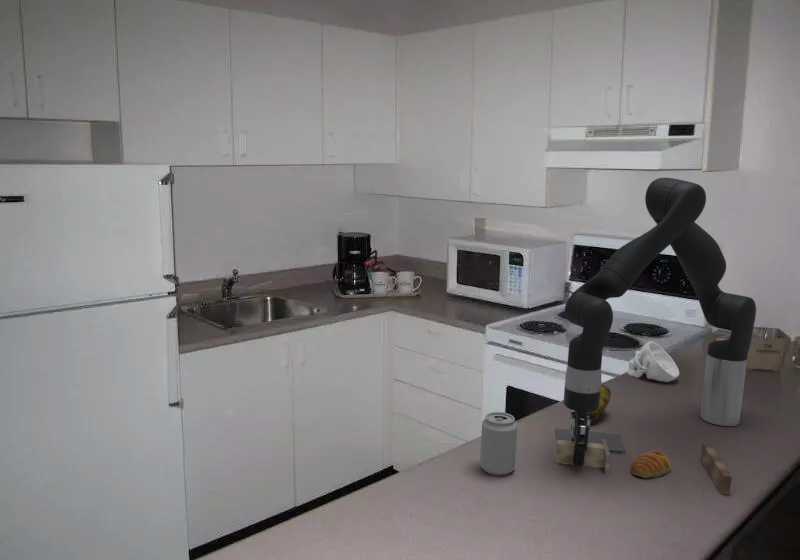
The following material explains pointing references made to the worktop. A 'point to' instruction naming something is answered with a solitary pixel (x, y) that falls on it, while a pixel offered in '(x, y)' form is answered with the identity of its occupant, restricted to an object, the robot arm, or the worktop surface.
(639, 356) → the skull bowl
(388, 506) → the worktop surface
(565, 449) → the scraper
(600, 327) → the robot arm
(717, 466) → the rail
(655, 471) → the pastry
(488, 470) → the can
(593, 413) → the potato
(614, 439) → the mat
